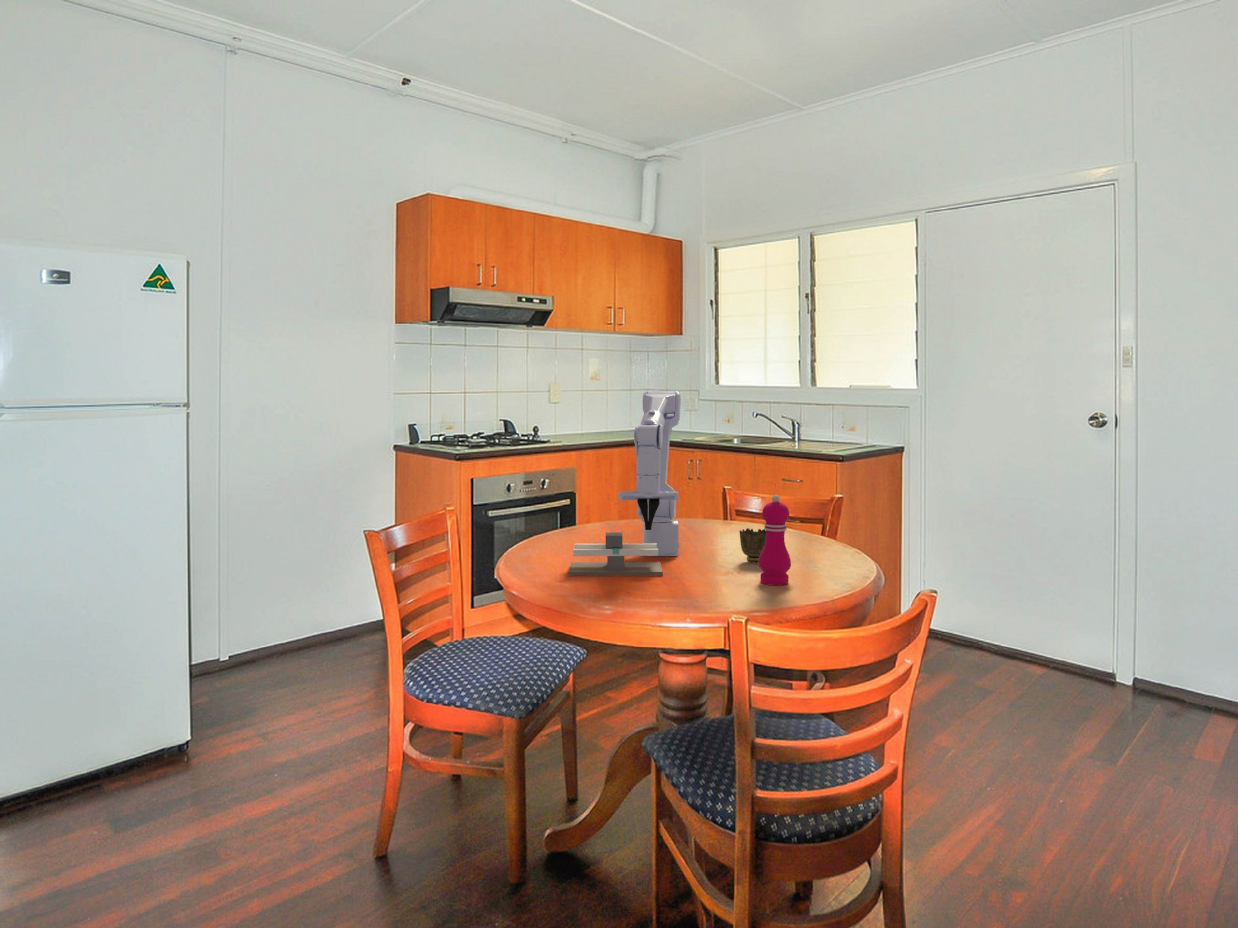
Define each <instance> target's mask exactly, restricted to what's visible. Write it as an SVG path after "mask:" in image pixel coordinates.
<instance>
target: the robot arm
mask: <svg viewBox="0 0 1238 928" xmlns="http://www.w3.org/2000/svg"><path fill="white" fill-rule="evenodd" d="M681 400H682V399H681V393H680V392H679V391H678V390H676V391H648V390H645V392H644V393H643V395H642V412H643V416H642V419H641V422H640V424H639V425H638V426H635V427H634V432H633V442H634V451H635V452H634V453H635V456H636V490H629V491H618V501H620V502H621V501H636V502H637V503H636V505H637V508H636V511H637V513H636V514H637V516H638V518H639V519H641V522H642V525H643V527H642V539H643V540H642V543H657V549H658V556H657V557H679V556H680V555H679V548H680V541H679V540H680V539H679V534H680V533H679V521H678V520H674V519H675V518H676V515H677V501H679V492H678V491H675V489H674V488H673V487H672V486H670V485H669V484H668V483H667V481H668V468H669V466H668V465H669V455H670V453H669V452H670V440H671V435H672V430H673V428H675V426H678V425H679V424H680V423H679V421H680V417H681V405H682V403H681Z"/></svg>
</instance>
